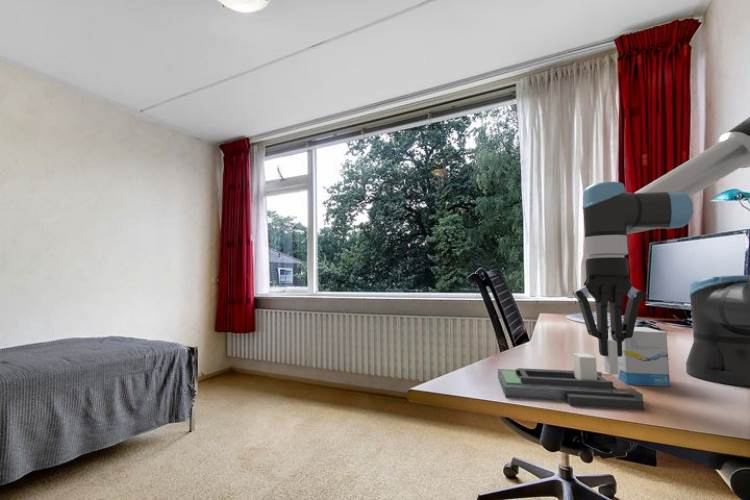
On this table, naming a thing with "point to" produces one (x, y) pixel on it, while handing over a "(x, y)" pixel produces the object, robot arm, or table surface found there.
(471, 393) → the table surface
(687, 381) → the table surface
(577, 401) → the dark grey bar
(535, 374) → the panel
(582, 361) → the white rectangular block
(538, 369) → the dark grey slim bar
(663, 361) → the ink box
